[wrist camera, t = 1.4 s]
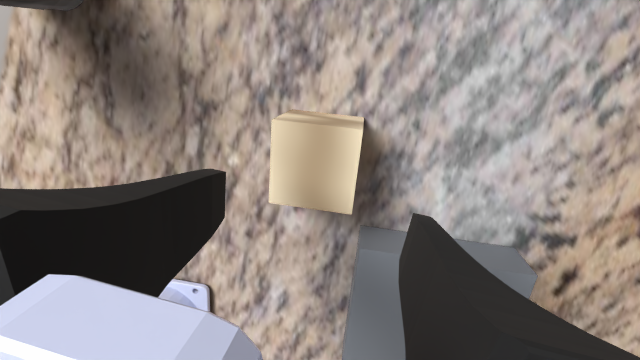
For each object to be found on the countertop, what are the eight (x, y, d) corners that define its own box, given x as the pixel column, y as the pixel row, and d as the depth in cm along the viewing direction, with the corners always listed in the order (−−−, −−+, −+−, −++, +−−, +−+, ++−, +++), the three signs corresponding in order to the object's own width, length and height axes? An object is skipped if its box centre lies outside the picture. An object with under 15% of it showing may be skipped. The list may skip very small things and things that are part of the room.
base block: (343, 337, 25) (340, 371, 22) (360, 225, 21) (359, 248, 19) (474, 362, 24) (489, 400, 21) (514, 247, 20) (537, 275, 18)
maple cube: (288, 176, 21) (268, 202, 17) (292, 109, 20) (271, 119, 15) (354, 185, 21) (351, 214, 16) (364, 117, 19) (363, 129, 15)
